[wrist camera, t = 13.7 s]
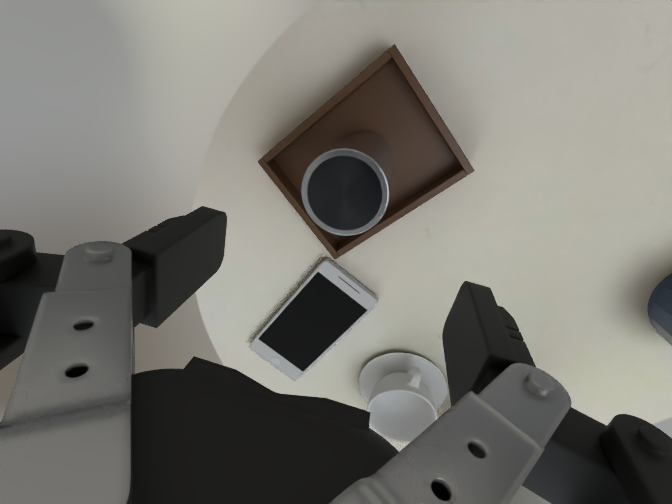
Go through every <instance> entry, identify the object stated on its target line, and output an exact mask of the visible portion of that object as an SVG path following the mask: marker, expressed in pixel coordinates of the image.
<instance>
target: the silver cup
mask: <svg viewBox="0 0 672 504" xmlns="http://www.w3.org/2000/svg"><path fill="white" fill-rule="evenodd" d="M394 163H395V161H394V154H393V151H392V149H391V146H390V145H389V143H388V142H387V141H386V140H385V139H384V138H383V137H382V136H380V135H378V134H376V133H374V132H370V131H358V132H354V133H351V134H349V135H348V136H346V137H345V138H343V139H342V140H341V141H339V142H338V143H336V144H335V145H334V146H332V147H331V148H330V149H328V150H327V151H325V152H324V153H323V154H321V155H320V156H318V157H317V158H316V159H315V160H314V161H313V162H312V163H311V164H310V165H309V167H308V168H307V170H306V172H305V174H304V177H303V181H302V187H301V194H302V200H303V204H304V207H305V209H306V211H307V213H308V215H309V216H310V217H311V219H312V220H313V221H314V222H315V223H316V224H317V225H318V226H320V227H321V228H323V229H324V230H326V231H328V232H330V233H333V234H337V235H344V236H350V235H357V234H360V233H363V232H365V231H367V230H369V229H371V228H372V227H373V226H375V225H376V224H377V223H378V222H379V221H380V219H381V218H382V217H383V215H384V213H385V211H386V209H387V206H388V202H389V196H390V190H391V184H392V177H393V171H394Z"/></svg>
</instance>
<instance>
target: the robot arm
mask: <svg viewBox="0 0 672 504" xmlns="http://www.w3.org/2000/svg"><path fill="white" fill-rule="evenodd" d="M226 225H227V216H226V213H225V212H222V211H218V210H215V209H211V208H208V207H204V206H202V207H200V208H198V209H196V210H194V211H193V212H191V213H189V214H187V215H185V216H179V217H174V218H170V219H167V220H165V221H163V222H162V223H160V224H158V225H157V226H154V227H152V228H151V229H149V230H148V231H145V232H143V233H141V234H139V235H137V236H135V237H133V238H132V239H130V240H128V241H126V242H124V243H122V244H119V243H115V242H108V241H95V242H88V243H83V244H79V245H77V246H74V247H73V248H71V249H69V250H68V251H67V252H66V254H65V255H57V254H47V253H37V252H36V249H35V243H34V238H33V237H32V236H31V235H30V234H28V233H25V232H22V231H17V230H0V370H1V369H3V368H4V367H5V366H7V365H8V364H9V363H11V362H12V361H13V360H14V359H16V358H17V357H19V356H20V355H21V354H23V353H24V354H23V357H22V360H21V363H20V366H19V370H18V373H17V376H16V379H15V382H14V385H13V388H12V391H11V394H10V398H9V401H8V404H7V407H6V410H5V413H4V416H3V419H2V421H1V422H0V504H510V502H511V500H512V499H513V497H514V496H515V494H516V493H517V491H518V490H519V488H520V487H521V485H522V486H523V487H525V488H527V489H528V490H530V491H532V492H533V493H535V494H536V495H538V496H540V497H541V498H543V499H544V500H546V501H548V502H549V503H551V504H672V438H670V437H669V436H668V435H667V434H665V433H664V432H663V431H661V430H660V429H658V428H656V427H655V426H654V425H652V424H650V423H648V422H646V421H644V420H642V419H640V418H637V417H635V416H631V415H627V414H619V415H616V416H615V417H614V418H613V419H612V421H611V422H610V423H609V424H608V425H607V426H606V425H604V424H602V423H600V422H598V421H596V420H594V419H592V418H590V417H588V416H587V415H585V414H583V413H581V412H579V411H577V410H575V409H573V408H572V407H571V399H570V396H569V394H568V393H567V391H566V390H565V388H564V387H563V386H562V385H561V384H560V383H559V382H558V381H557V380H556V379H554V378H553V377H552V376H550V375H549V374H548V373H546V372H544V371H542V370H541V369H539V368H536V366H535V364H534V362H533V359H532V357H531V355H530V353H529V351H528V348H527V346H526V344H525V342H523V337H522V335H521V333H520V332H519V329H518V326H517V324H516V322H515V320H514V318H513V317H512V316H511V315H510V314H509V313H508V312H507V311H506V310H505V309H504V308H503V307H500V306H497V303H496V301H495V298H494V296H493V293H492V291H491V289H490V288H489V287H485V286H482V285H478V284H475V283H471V282H468V281H465V282H464V283H463V284H462V286H461V288H460V290H459V292H458V294H457V297H456V299H455V301H454V303H453V306H452V308H451V310H450V313H449V315H448V317H447V319H446V322H445V325H444V329H443V347H444V354H445V362H446V370H447V377H448V385H449V393H450V400H451V408H450V409H448V410H447V411H446V412H445V413H444V414H443V415H441V416H440V417H439V418H438V419H437V420H436V421H435V422H433V423H432V424H431V425H430V426H429V427H428V428H426V429H425V430H424V431H423V432H422V433H421V434H420V435H418V436H417V437H416V438H415V439H414V440H413V441H411V442H410V443H409V444H408V445H407V446H406V447H405V448H403V449H402V450H401V451H400V452H398V451H397V449H396V448H395V447H394V446H392V445H391V444H390V443H389V442H388V441H387V440H386V439H384V438H383V437H382V436H380V435H379V434H378V433H376V432H375V431H373V430H371V429H370V428H369V422H370V413H371V412H368V411H365V410H362V409H358V408H355V407H352V406H349V405H346V404H343V403H339V402H336V401H333V400H330V399H327V398H319V397H308V396H298V395H287V394H279V393H275V392H273V391H271V390H270V389H268V388H266V387H264V386H263V385H261V384H259V383H258V382H256V381H254V380H253V379H251V378H249V377H247V376H246V375H244V374H242V373H241V372H239V371H237V370H235V369H232V368H229V367H226V366H223V365H219V364H216V363H213V362H210V361H207V360H204V359H200V358H197V357H193V358H192V359H191V361H190V362H189V363H188V364H187V365H186V367H185V368H184V369H158V370H152V371H145V372H141V373H137V374H135V338H134V337H135V335H134V327H136V326H137V325H138V324H139V323H142V324H145V325H148V326H151V327H155V328H157V327H158V326H159V325H161V323H163V322H164V321H165V320H166V319H167V318H168V317H169V316H170V315H171V314H172V313H173V312H174V311H175V310H176V309H178V307H180V306H181V305H182V304H183V303H184V302H185V301H186V300H187V299H188V298H189V297H190V296H191V295H192V294H193V293H195V292H196V291H197V290H198V289H199V288H200V287H201V286H202V285H203V284H204V283H205V282H206V281H207V280H208V279H209V278H210V277H212V276H213V275H214V274H215V273H216V272H217V271H218V269H219V268H220V266H221V263H222V261H223V257H224V248H225V236H226Z"/></svg>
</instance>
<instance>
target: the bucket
mask: <svg viewBox="0 0 672 504" xmlns="http://www.w3.org/2000/svg"><path fill="white" fill-rule="evenodd" d="M648 316H649V320H650V322H651V324H652V325H653V327H654V328H655V329H656V331H657V332H658V333H659V334H660V335H661V336H662V337H663V338H664V339H666V340H667V341H668V342H669V343H670V344H671V345H672V274H670V275H669V276H668V277H666V278H665V279H664V280H663V281H662V282H661V283H660V284H659V285H658V286H657V288H656V289H655V290H654V292H653V293H652V295H651V298H650V300H649V304H648Z"/></svg>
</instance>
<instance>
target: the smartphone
mask: <svg viewBox="0 0 672 504" xmlns="http://www.w3.org/2000/svg"><path fill="white" fill-rule="evenodd" d="M377 302H378V297H377V296H376V295H375V294H373V293H372V292H371V291H370V290H368V289H367V288H366V287H365V286H363V285H362V284H361V283H360V282H358V281H357V280H356V279H354V278H353V277H352V276H351V275H349V274H348V273H347V272H346V271H344V270H343V269H342V268H341V267H339V266H338V265H337V264H336V263H334V262H333V261H332V260H330V259H329V258H326V259H324V260H323V261H322V262H321V263H320V264H319V266H318V267H317V268H316V269H315V270H314V271H313V272H312V274H311V275H310V276H309V277H308V278H307V279H306V280H305V281H304V283H303V284H302V285H301V286H300V287H299V288H298V289H297V290H296V292H295V293H294V294H293V295H292V296H291V297H290V298H289V300H288V301H287V302H286V303H285V304H284V305H283V306H282V307H281V309H280V310H279V311H278V312H277V313H276V314H275V315H274V317H273V318H272V319H271V320H270V321H269V322H268V323H267V324H266V326H265V327H264V328H263V329H262V330H261V331H260V332H259V334H258V335H257V336H256V337H255V338H254V339H253V340H252V342H251V344H250V345H249V349H251V350H252V351H253V352H255V353H256V354H257V355H259V356H260V357H262V358H263V359H264V360H266V361H267V362H268V363H270V364H271V365H273V366H274V367H275V368H277V369H278V370H280V371H281V372H282V373H284V374H285V375H286V376H288V377H289V378H291V379H292V380H293V381H296V380H298V379H299V378H300V377H301V376H302V375H303V374H304V373H305V372H306V371H307V370H308V369H309V368H311V367H312V366H313V365H314V364H315V363H316V362H317V361H318V360H319V359H320V358H321V357H322V356H323V355H324V354H325V353H326V352H327V351H328V350H330V349H331V348H332V347H333V346H334V345H335V344H336V343H337V342H338V341H339V340H340V339H341V338H342V337H343V336H344V335H345V334H346V333H348V332H349V331H350V330H351V329H352V328H353V327H354V326H355V325H356V324H357V323H358V322H359V321H360V320H361V319H362V318H363V317H364V316H365V315H367V314H368V313H369V312H370V311H371V310H372V309H373V308H374V307H375V306H376V305H377Z"/></svg>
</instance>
